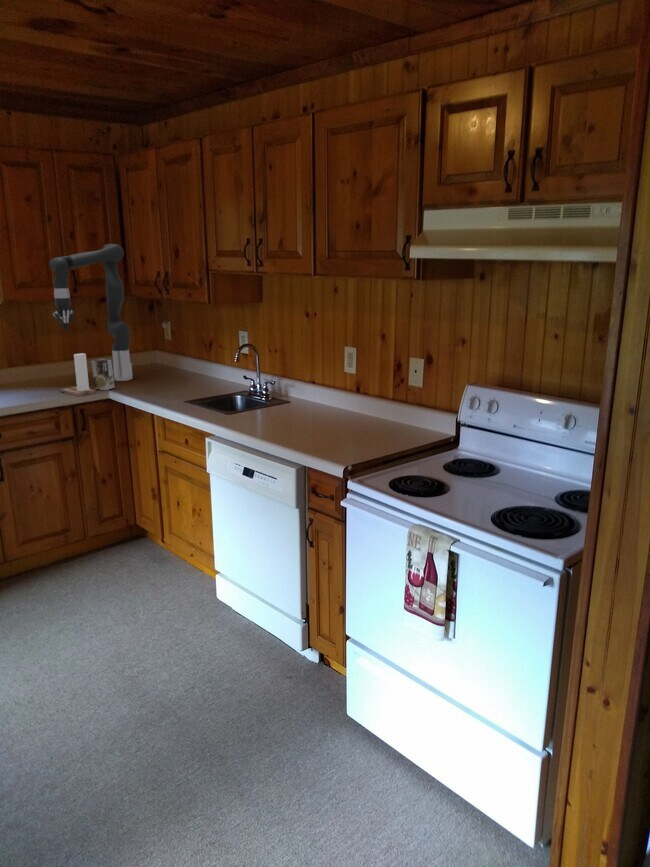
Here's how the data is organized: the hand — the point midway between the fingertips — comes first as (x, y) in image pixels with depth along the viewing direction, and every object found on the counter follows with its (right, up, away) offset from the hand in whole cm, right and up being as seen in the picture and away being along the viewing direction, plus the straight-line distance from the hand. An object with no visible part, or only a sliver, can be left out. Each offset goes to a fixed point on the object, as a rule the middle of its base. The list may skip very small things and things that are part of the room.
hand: (65, 330), depth 352 cm
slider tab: (+13, -33, -8) cm, 36 cm away
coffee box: (+20, -31, +4) cm, 37 cm away
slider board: (+8, -34, -5) cm, 35 cm away
